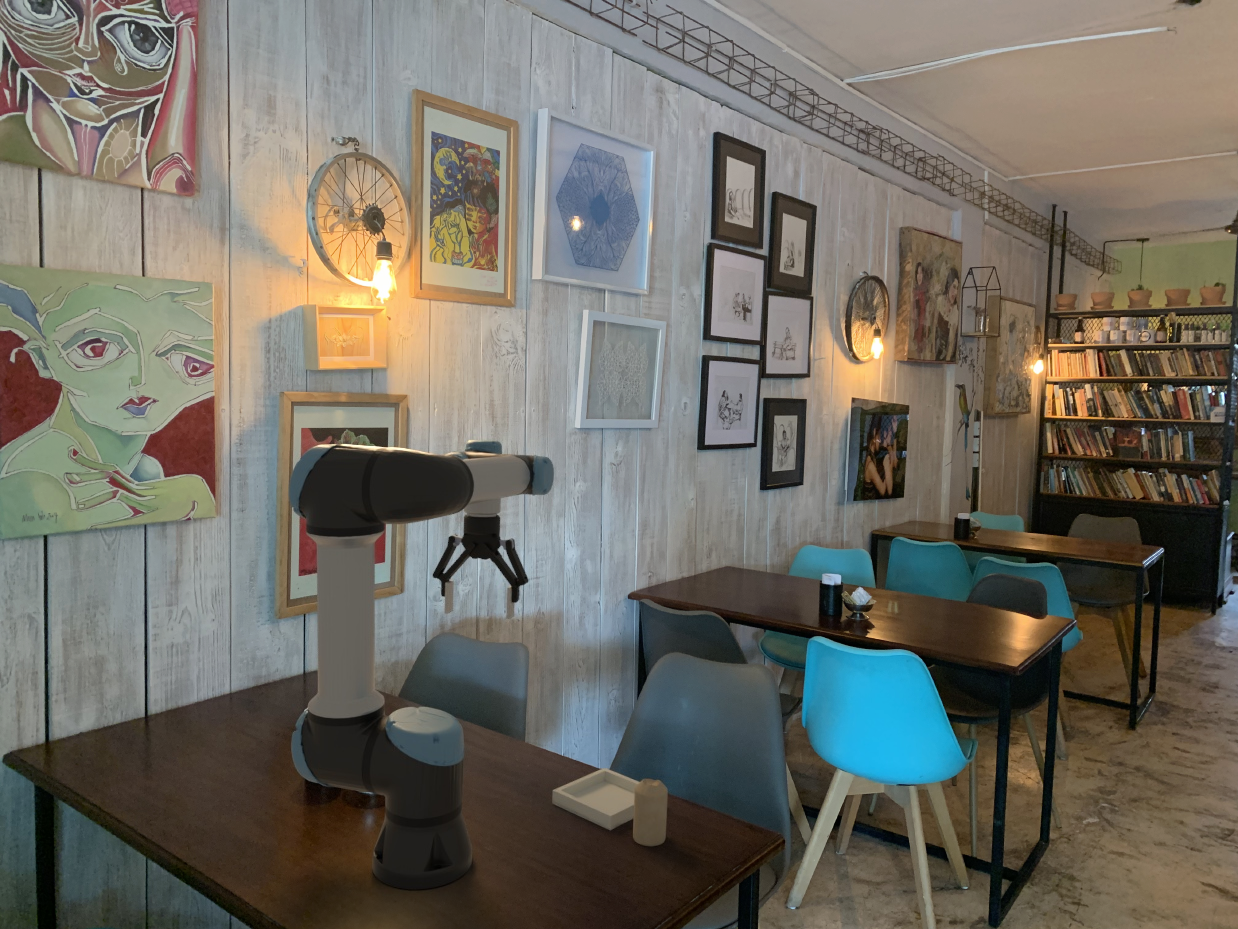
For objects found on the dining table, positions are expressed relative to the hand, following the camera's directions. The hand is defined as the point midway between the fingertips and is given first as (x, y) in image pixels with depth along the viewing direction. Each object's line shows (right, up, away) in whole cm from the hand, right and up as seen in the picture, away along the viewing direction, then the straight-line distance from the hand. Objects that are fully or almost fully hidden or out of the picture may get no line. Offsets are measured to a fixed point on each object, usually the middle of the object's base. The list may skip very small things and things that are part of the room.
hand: (479, 615), depth 185 cm
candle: (+34, -31, -37) cm, 59 cm away
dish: (+27, -30, -25) cm, 47 cm away
